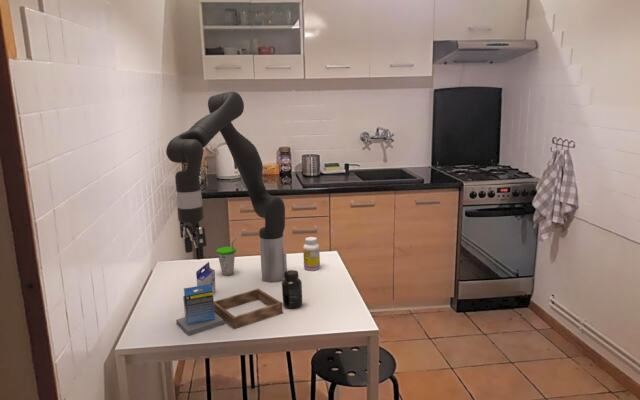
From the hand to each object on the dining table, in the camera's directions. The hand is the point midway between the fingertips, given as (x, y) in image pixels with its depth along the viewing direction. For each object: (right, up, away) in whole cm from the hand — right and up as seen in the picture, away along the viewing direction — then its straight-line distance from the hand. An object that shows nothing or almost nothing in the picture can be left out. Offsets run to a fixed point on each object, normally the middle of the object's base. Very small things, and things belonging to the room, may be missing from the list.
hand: (194, 255), depth 157 cm
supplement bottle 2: (+36, -11, +52) cm, 64 cm away
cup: (+2, -13, +48) cm, 50 cm away
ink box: (-2, -18, +27) cm, 32 cm away
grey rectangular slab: (+1, -23, +5) cm, 23 cm away
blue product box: (+1, -21, +5) cm, 22 cm away
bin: (+15, -21, +13) cm, 28 cm away
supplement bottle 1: (+30, -19, +18) cm, 40 cm away
